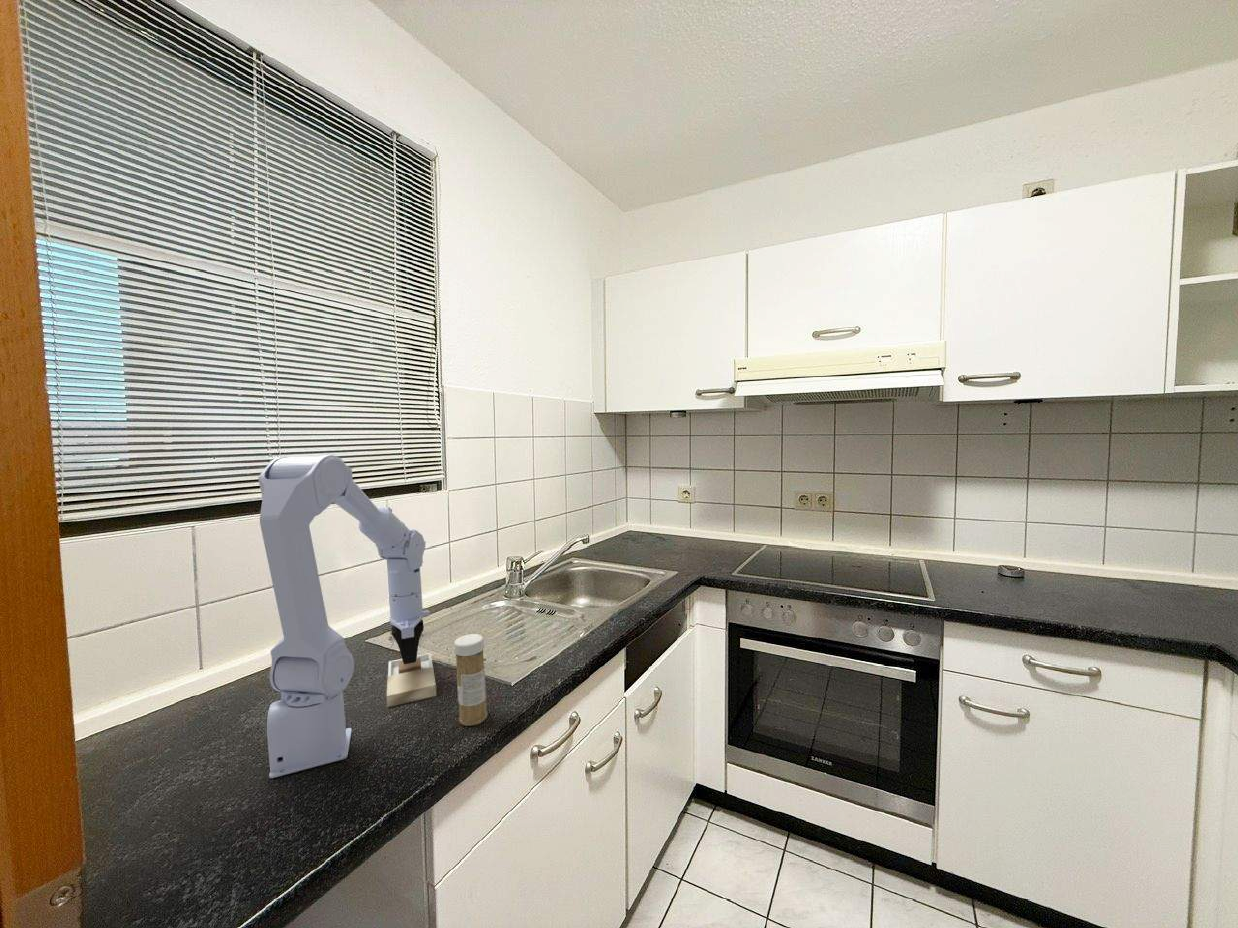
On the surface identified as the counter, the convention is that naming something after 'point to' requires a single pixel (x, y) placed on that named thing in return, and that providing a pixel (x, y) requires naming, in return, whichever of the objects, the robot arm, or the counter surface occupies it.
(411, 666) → the walnut block
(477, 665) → the sprinkles bottle
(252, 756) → the counter surface
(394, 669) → the box
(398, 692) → the birch board
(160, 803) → the counter surface
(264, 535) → the robot arm
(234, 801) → the counter surface
